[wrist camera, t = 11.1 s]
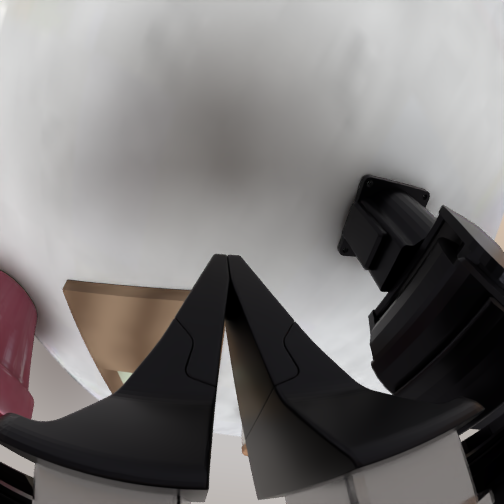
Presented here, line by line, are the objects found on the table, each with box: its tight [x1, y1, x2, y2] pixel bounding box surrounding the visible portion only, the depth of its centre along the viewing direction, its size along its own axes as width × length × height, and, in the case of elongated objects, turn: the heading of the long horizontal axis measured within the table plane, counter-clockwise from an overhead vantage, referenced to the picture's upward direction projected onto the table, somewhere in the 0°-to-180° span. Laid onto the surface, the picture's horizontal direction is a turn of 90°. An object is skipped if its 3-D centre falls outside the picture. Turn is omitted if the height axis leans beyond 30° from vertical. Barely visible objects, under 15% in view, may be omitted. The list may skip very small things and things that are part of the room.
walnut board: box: [62, 280, 225, 394], centre depth 27 cm, size 14×22×1 cm, turn 171°
